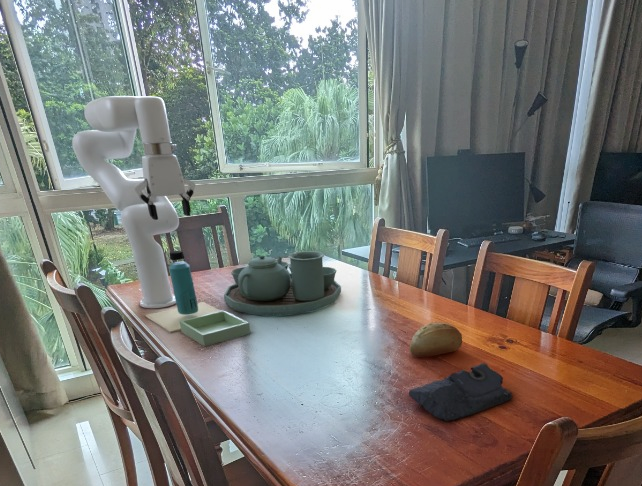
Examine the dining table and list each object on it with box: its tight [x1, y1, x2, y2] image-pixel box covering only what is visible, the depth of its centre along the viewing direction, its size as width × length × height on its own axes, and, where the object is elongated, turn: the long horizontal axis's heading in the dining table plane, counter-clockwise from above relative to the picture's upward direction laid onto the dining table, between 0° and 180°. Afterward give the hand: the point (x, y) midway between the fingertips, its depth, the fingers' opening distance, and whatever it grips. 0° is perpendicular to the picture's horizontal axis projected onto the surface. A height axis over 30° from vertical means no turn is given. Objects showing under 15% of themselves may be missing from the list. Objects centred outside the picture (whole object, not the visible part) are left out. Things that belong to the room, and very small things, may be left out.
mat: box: [145, 301, 221, 334], centre depth 163 cm, size 20×20×1 cm
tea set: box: [223, 250, 342, 317], centre depth 174 cm, size 40×40×16 cm
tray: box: [179, 309, 251, 347], centre depth 150 cm, size 16×15×3 cm
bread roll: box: [409, 322, 463, 358], centre depth 132 cm, size 10×15×8 cm, turn 114°
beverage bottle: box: [168, 250, 198, 315], centre depth 157 cm, size 6×7×20 cm
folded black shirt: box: [408, 362, 513, 422], centre depth 112 cm, size 15×22×5 cm
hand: (171, 217), depth 148 cm, fingers open, 9 cm apart
